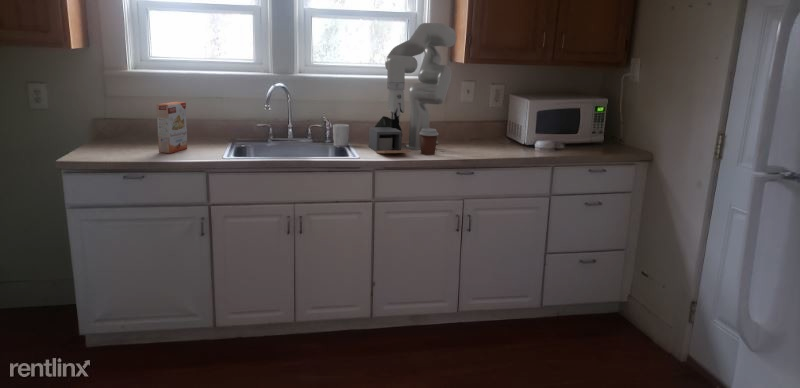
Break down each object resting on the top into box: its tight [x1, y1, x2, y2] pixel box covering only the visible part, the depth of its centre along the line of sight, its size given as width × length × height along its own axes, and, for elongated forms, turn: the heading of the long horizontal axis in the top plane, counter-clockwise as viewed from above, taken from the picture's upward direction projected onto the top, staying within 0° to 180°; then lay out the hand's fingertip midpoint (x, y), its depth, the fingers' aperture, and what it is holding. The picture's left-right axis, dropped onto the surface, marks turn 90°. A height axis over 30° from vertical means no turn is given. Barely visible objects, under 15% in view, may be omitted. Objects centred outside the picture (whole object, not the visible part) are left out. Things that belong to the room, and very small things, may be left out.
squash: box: [374, 115, 403, 132], centre depth 299 cm, size 14×15×15 cm
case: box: [368, 126, 403, 154], centre depth 283 cm, size 12×14×10 cm
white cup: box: [332, 123, 350, 147], centre depth 291 cm, size 8×8×10 cm
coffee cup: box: [419, 127, 440, 156], centre depth 276 cm, size 9×9×12 cm
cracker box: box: [156, 101, 188, 154], centre depth 261 cm, size 14×6×21 cm, turn 168°
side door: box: [376, 149, 413, 154], centre depth 270 cm, size 13×1×13 cm
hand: (395, 127), depth 266 cm, fingers closed
